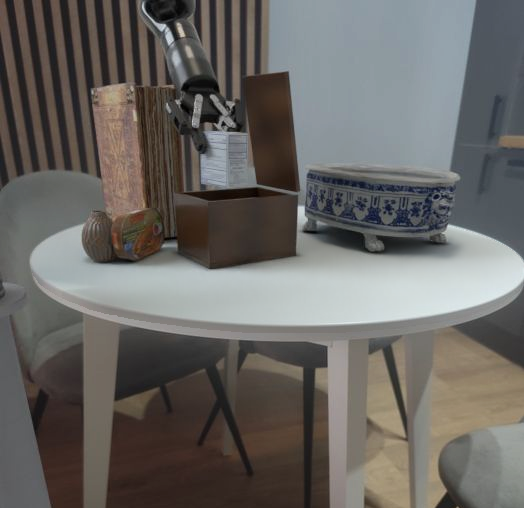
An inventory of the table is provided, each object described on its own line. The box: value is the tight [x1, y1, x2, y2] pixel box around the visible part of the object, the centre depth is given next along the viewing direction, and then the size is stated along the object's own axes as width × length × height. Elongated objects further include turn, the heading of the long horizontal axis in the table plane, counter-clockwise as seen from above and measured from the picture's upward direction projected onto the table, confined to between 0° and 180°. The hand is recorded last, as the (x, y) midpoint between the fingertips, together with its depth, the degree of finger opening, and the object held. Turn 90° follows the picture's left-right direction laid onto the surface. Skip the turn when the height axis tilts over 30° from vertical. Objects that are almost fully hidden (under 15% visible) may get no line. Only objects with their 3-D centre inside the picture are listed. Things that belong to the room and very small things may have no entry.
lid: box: [241, 70, 301, 193], centre depth 92 cm, size 20×14×1 cm
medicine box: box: [200, 130, 249, 189], centre depth 84 cm, size 8×4×9 cm, turn 41°
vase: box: [81, 209, 118, 263], centre depth 91 cm, size 7×7×9 cm
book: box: [90, 81, 185, 239], centre depth 110 cm, size 25×9×30 cm, turn 35°
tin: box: [111, 208, 165, 262], centre depth 94 cm, size 15×3×8 cm, turn 161°
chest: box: [174, 186, 299, 270], centre depth 95 cm, size 19×14×11 cm
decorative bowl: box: [302, 162, 461, 252], centre depth 109 cm, size 42×27×15 cm, turn 32°
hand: (220, 150), depth 84 cm, fingers closed on medicine box, 5 cm apart
